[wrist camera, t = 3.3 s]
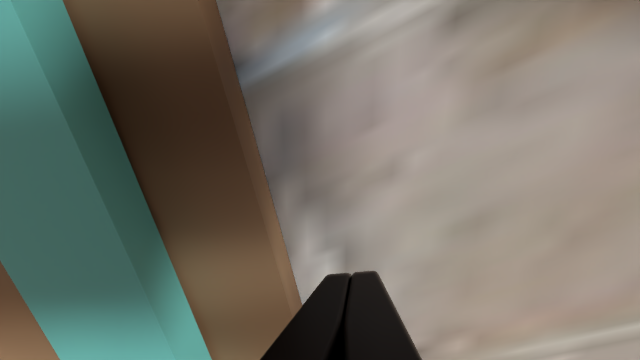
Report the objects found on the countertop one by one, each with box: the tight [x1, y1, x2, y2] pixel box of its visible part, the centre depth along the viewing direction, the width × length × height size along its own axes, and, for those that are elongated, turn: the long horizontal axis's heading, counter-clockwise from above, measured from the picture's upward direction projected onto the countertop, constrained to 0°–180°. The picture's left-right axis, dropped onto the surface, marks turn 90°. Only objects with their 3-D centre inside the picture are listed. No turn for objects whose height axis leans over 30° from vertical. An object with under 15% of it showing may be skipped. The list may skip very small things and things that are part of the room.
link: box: [0, 0, 212, 360], centre depth 13 cm, size 20×4×1 cm, turn 11°
